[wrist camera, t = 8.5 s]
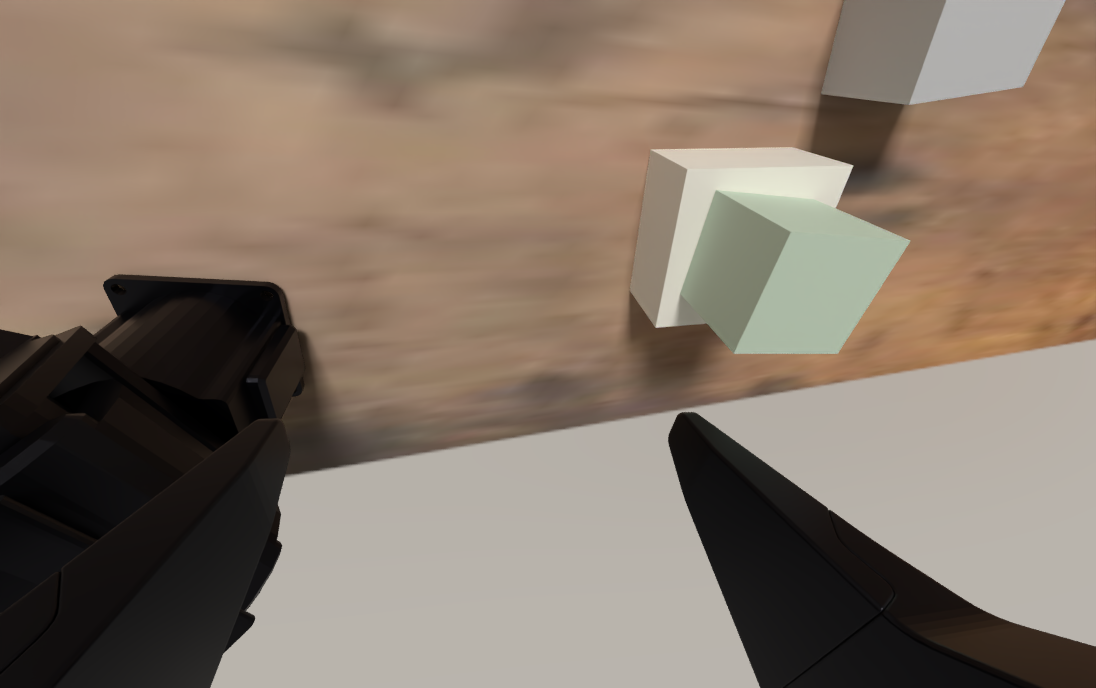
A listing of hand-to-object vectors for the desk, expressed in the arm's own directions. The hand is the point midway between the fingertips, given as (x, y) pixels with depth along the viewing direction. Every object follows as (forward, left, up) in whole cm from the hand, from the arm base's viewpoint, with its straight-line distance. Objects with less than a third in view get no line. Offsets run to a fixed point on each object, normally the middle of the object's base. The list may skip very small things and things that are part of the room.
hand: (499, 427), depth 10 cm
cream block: (+11, +2, -12) cm, 17 cm away
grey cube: (+16, +10, -12) cm, 23 cm away
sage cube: (+11, +2, -8) cm, 14 cm away
